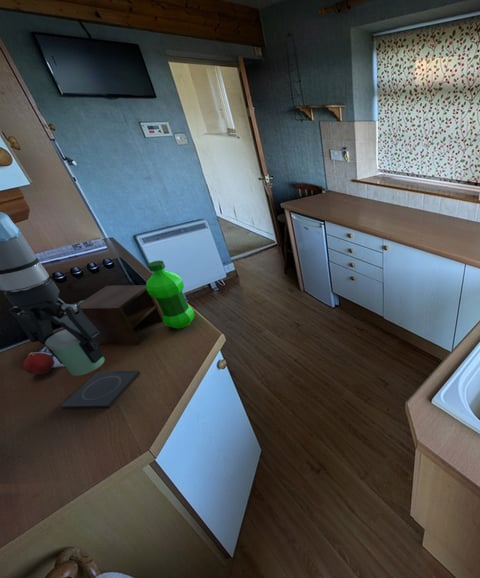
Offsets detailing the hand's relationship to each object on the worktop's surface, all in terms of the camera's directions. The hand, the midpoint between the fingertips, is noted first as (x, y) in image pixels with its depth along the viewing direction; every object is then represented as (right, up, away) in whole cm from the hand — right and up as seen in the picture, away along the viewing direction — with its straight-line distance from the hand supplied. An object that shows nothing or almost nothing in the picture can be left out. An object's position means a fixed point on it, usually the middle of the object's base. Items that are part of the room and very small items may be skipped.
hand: (82, 359), depth 76 cm
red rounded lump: (-22, -7, +11) cm, 26 cm away
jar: (0, -2, +1) cm, 2 cm away
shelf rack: (-11, +3, +28) cm, 30 cm away
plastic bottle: (+4, +5, +32) cm, 33 cm away
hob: (0, -10, +6) cm, 12 cm away
